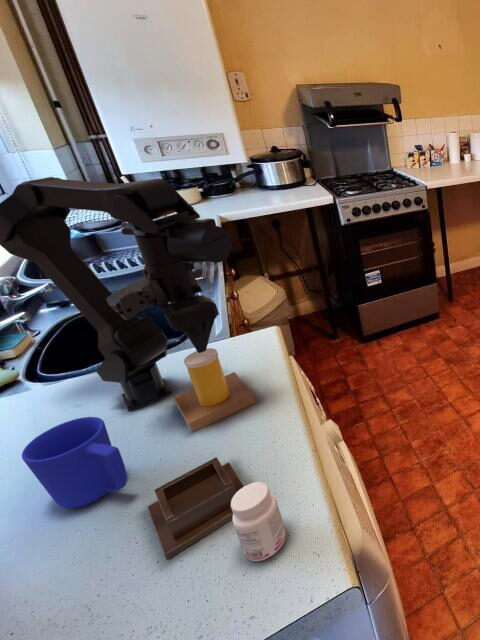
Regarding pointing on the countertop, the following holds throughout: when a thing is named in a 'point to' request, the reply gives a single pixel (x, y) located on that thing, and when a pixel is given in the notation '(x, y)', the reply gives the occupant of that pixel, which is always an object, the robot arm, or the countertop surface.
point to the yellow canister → (207, 377)
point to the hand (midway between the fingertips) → (194, 342)
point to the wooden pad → (206, 415)
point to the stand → (194, 505)
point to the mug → (76, 462)
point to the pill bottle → (257, 521)
